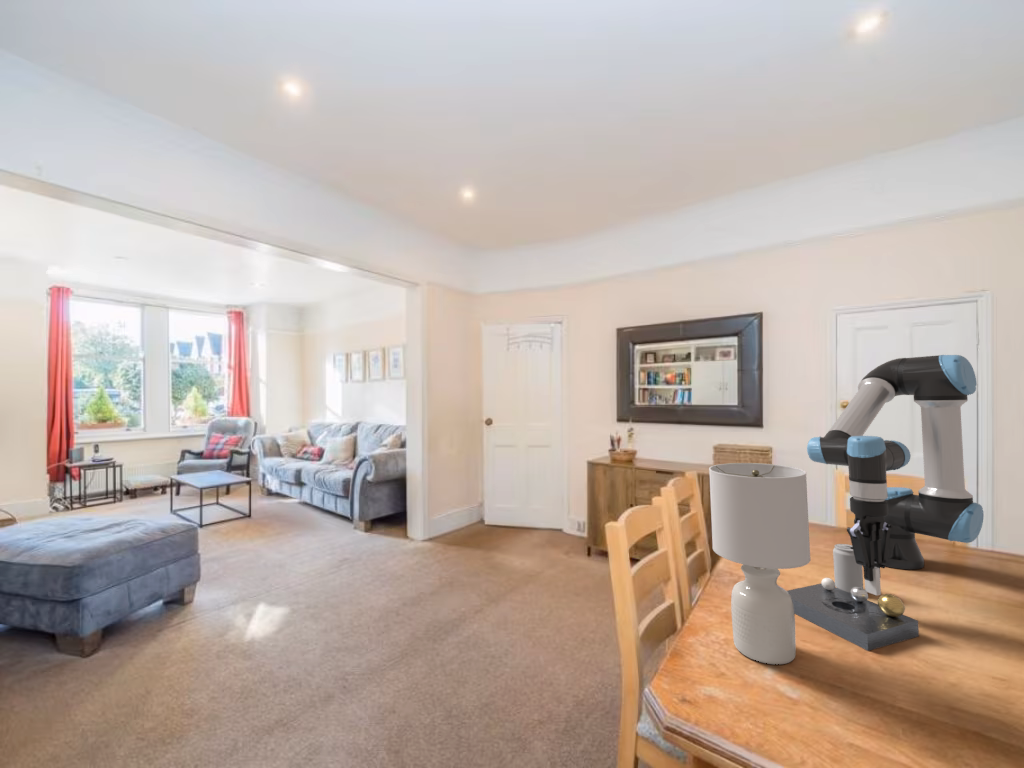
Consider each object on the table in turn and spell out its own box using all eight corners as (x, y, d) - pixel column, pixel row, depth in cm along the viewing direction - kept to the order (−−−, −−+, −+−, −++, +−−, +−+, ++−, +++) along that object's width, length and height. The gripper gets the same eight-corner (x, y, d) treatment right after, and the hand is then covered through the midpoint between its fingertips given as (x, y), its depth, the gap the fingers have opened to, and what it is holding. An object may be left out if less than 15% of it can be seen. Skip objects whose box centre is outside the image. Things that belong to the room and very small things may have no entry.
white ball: (827, 586, 120) (826, 575, 120) (838, 591, 117) (837, 579, 118) (818, 588, 119) (818, 576, 119) (829, 592, 117) (829, 581, 117)
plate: (824, 595, 123) (824, 582, 123) (918, 636, 102) (918, 620, 102) (779, 605, 118) (778, 592, 118) (868, 650, 97) (867, 634, 97)
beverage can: (868, 596, 122) (866, 551, 122) (842, 594, 123) (839, 550, 123) (855, 586, 128) (853, 543, 128) (830, 584, 129) (828, 542, 129)
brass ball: (887, 609, 107) (886, 589, 107) (910, 618, 103) (909, 597, 103) (873, 613, 106) (872, 592, 106) (895, 622, 101) (894, 601, 101)
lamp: (703, 628, 108) (696, 464, 109) (783, 627, 108) (775, 462, 108) (740, 677, 89) (731, 479, 90) (837, 676, 89) (827, 476, 90)
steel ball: (857, 597, 114) (856, 583, 114) (872, 603, 110) (871, 589, 110) (847, 599, 113) (846, 585, 113) (861, 605, 109) (861, 591, 109)
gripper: (870, 492, 119) (875, 583, 118) (834, 497, 115) (839, 591, 114) (903, 498, 112) (907, 594, 111) (865, 504, 108) (870, 603, 107)
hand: (873, 592), depth 113 cm, fingers closed
